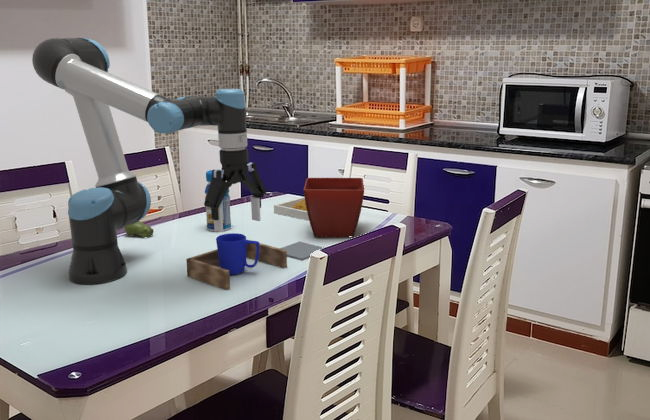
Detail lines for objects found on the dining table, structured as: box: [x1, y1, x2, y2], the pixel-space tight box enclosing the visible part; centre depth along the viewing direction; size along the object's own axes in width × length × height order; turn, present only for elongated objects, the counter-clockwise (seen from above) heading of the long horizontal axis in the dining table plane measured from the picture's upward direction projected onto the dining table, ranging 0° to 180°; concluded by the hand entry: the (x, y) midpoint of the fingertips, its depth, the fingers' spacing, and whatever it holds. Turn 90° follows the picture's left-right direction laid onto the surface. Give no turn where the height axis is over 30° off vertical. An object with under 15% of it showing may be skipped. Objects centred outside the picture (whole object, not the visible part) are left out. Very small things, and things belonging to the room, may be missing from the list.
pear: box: [124, 220, 154, 238], centre depth 218 cm, size 6×5×10 cm
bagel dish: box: [273, 196, 310, 222], centre depth 244 cm, size 18×17×3 cm
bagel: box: [292, 199, 307, 211], centre depth 244 cm, size 10×11×5 cm
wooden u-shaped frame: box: [186, 242, 288, 290], centre depth 182 cm, size 16×22×5 cm
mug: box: [215, 232, 261, 276], centre depth 181 cm, size 8×12×10 cm
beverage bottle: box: [204, 169, 232, 232], centre depth 222 cm, size 8×8×20 cm
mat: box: [279, 241, 325, 261], centre depth 199 cm, size 12×12×1 cm
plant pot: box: [303, 177, 365, 238], centre depth 217 cm, size 19×19×17 cm
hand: (238, 225), depth 179 cm, fingers open, 13 cm apart
